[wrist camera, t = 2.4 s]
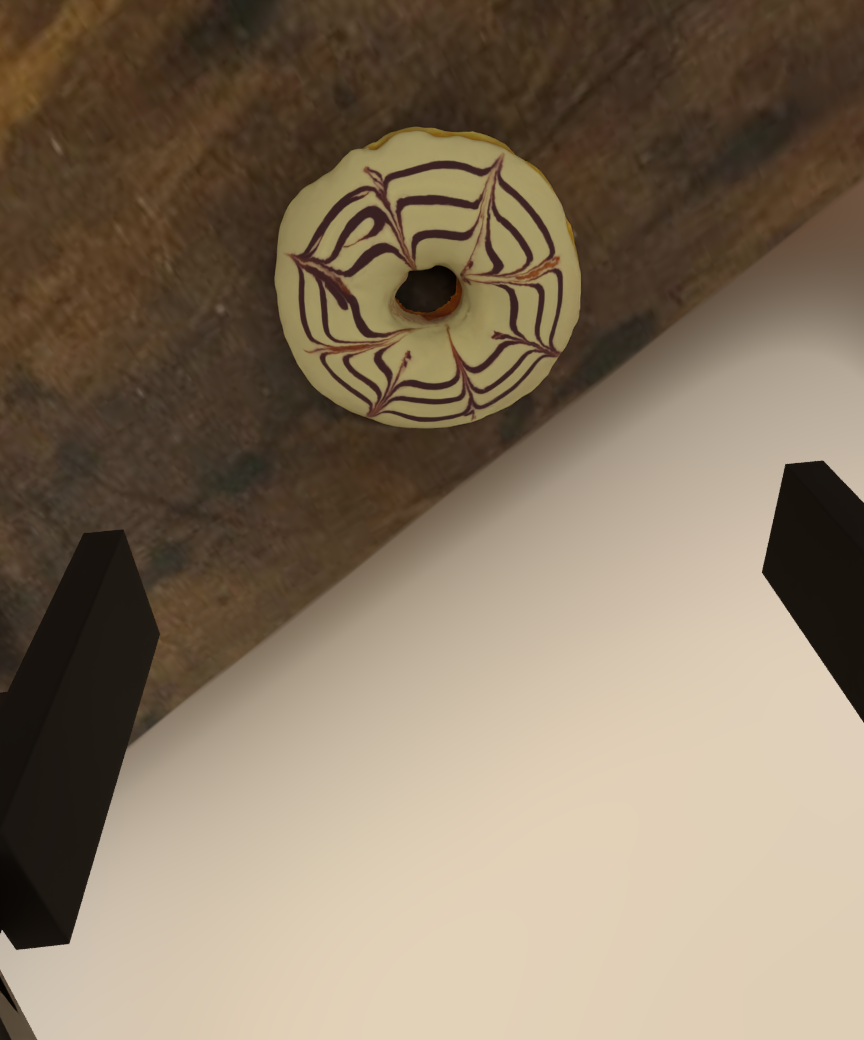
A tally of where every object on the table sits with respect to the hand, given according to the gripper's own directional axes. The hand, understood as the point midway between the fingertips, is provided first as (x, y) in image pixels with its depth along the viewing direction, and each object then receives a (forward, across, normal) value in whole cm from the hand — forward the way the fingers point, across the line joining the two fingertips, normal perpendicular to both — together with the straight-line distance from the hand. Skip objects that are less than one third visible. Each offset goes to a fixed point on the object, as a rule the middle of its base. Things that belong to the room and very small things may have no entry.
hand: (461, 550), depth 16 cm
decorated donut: (+17, 0, 0) cm, 17 cm away
